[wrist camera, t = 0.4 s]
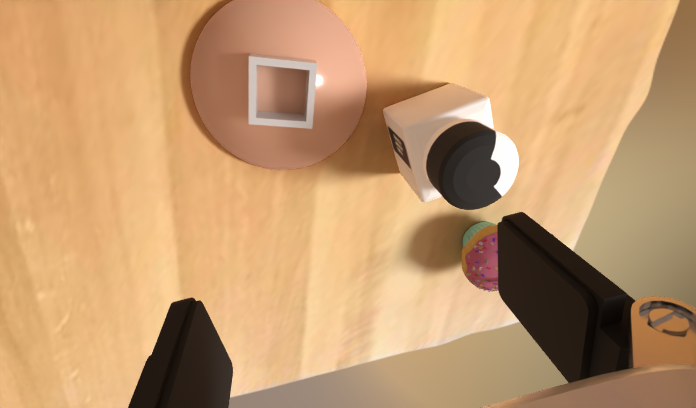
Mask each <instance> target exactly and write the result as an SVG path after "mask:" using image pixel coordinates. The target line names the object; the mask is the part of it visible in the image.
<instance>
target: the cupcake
mask: <svg viewBox="0 0 696 408" xmlns="http://www.w3.org/2000/svg"><path fill="white" fill-rule="evenodd" d="M497 226H498V225H495V224H493V223H490V222H480V223H477V224H475V225H473V226H471V227H470V228H469V229H468V230H467V231H466V233H465V234H464V237H463V241H462V244H463V249H462V269H463V272H464V274H465V276H466V277H467V279H468V280H469V281H470V282H471V283H472V284H473V285H475V286H476V287H477V288H478V287H479V289H485V290H488V291H489V292H490V291H491V290H492V291H497V290H498V237H497Z"/></svg>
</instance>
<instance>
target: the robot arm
mask: <svg viewBox="0 0 696 408" xmlns="http://www.w3.org/2000/svg"><path fill="white" fill-rule="evenodd" d="M497 237H498V290H499V294H500V296H501V298H502V300H503V301H504V302H505V304H506V305H507V306H508V307H509V309H510V310H511V311H512V312H513V314H514V315H515V316H516V317H517V319H518V320H519V321H520V322H521V324H522V325H523V326H524V327H525V329H526V330H527V331H528V332H529V334H530V335H531V336H532V337H533V339H534V340H535V341H536V342H537V344H538V345H539V346H540V347H541V349H542V350H543V351H544V352H545V353H546V355H547V356H548V357H549V359H550V360H551V361H552V362H553V364H554V365H555V366H556V367H557V369H558V370H559V371H560V372H561V374H562V375H563V376H564V377H565V379H566V380H567V381H568V382H569V383H568V384H564V385H560V386H556V387H553V388H549V389H545V390H542V391H538V392H535V393H531V394H528V395H525V396H521V397H517V398H514V399H510V400H506V401H503V402H500V403H496V404H492V405H489V406H485V407H482V408H696V309H695V308H693V307H692V306H690V305H688V304H686V303H683V302H681V301H678V300H675V299H671V298H666V297H657V296H651V297H644V298H641V299H638V300H637V301H635V300H634V299H633V298H631V297H630V296H629V295H627V293H626V292H624V291H623V290H622V289H620V288H619V287H618V286H617V285H615V284H614V283H613V282H612V281H610V280H609V279H608V278H606V277H605V276H604V275H603V274H601V273H600V272H599V271H598V270H596V269H595V268H594V267H592V266H591V265H590V264H589V263H587V262H586V261H585V260H583V259H582V258H581V257H580V256H578V255H577V254H576V253H575V252H573V251H572V250H571V249H570V248H568V247H567V246H566V245H564V244H563V243H562V242H561V241H559V240H558V239H557V238H555V237H554V236H553V235H552V234H550V233H549V232H548V231H547V230H545V229H544V228H543V227H541V226H540V225H539V224H538V223H536V222H535V221H534V220H533V219H531V218H530V217H529V216H527V215H526V214H525V213H523V212H519V213H515V214H511V215H508V216H504V217H503V218H502V222H499V223H498V226H497ZM232 376H233V367H232V362H231V360H230V358H229V356H228V354H227V352H226V350H225V348H224V346H223V344H222V341H221V339H220V337H219V335H218V333H217V331H216V329H215V327H214V325H213V323H212V321H211V319H210V317H209V315H208V313H207V311H206V309H205V307H204V305H203V303H202V302H201V301H196V300H195V299H194V298H188V299H184V300H180V301H176V302H173V303H172V304H171V306H170V308H169V311H168V313H167V316H166V318H165V321H164V324H163V326H162V329H161V332H160V334H159V337H158V339H157V342H156V345H155V347H154V350H153V352H152V355H150V356H149V357H148V359H147V361H146V363H145V366H144V368H143V371H142V373H141V376H140V379H139V381H138V384H137V386H136V389H135V391H134V394H133V396H132V399H131V402H130V404H129V407H128V408H228V406H229V399H230V391H231V383H232Z"/></svg>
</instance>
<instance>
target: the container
mask: <svg viewBox="0 0 696 408" xmlns="http://www.w3.org/2000/svg"><path fill="white" fill-rule="evenodd" d="M383 114H384V118H385V121H386V125H387V129H388V132H389V136H390V139H391V143H392V147H393V150H394V154H395V157H396V161H397V165H398V168H399V172H400V174H401V175H402V176H403V178H404V179H405V180H406V182H407V183H408V184H409V186H410V187H411V188H412V189H413V191H414V192H415V193H416V195H417V196H418V197H419V199H420V200H421V201H422V202H424V203H425V202H428V201H431V200H434V199H437V198H439V197H442V196H443V197H444V199H445V200H446V201H447V202H448V203H450V204H451V205H453V206H455V207H457V208H460V209H465V210H474V209H479V208H483V207H486V206H488V205H490V204H492V203H494V202H495V201H497V200H498V199H500V198H501V197H502V196H503V195H504V194H505V193H506V192H507V191H508V190H509V188H510V187H511V185H512V184H513V182H514V180H515V177H516V174H517V171H518V165H519V157H518V152H517V149H516V147H515V145H514V143H513V142H512V141H511V140H510V139H509V138H508V137H507V136H506V135H504V134H502V133H500V132H498V131H496V130H494V128H493V120H492V113H491V105H490V99H489V98H488V97H487V96H485V95H482V94H480V93H477V92H474V91H472V90H469V89H467V88H464V87H462V86H459V85H456V84H454V83H450V84H447V85H445V86H442V87H439V88H437V89H434V90H431V91H428V92H426V93H423V94H420V95H418V96H415V97H412V98H409V99H407V100H404V101H401V102H398V103H396V104H393V105H390V106H388V107H385V108H384V109H383Z"/></svg>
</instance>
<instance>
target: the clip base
mask: <svg viewBox="0 0 696 408" xmlns="http://www.w3.org/2000/svg"><path fill="white" fill-rule="evenodd" d="M190 82H191V90H192V95H193V99H194V103H195V106H196V108H197V111H198V113H199V116H200V118H201V119H202V121H203V123H204V125H205V126H206V128H207V129H208V131H209V132H210V133H211V135H212V136H213V137H214V138H215V139H216V140H217V141H218V142H219V144H221V145H222V146H223V147H224V148H225V149H226V150H228V151H229V152H230V153H232V154H233V155H235V156H236V157H238V158H240V159H242V160H244V161H246V162H248V163H250V164H253V165H256V166H259V167H263V168H268V169H276V170H291V169H299V168H303V167H307V166H310V165H313V164H315V163H318V162H320V161H322V160H324V159H325V158H327V157H329V156H330V155H332V154H333V153H334V152H336V151H337V150H338V149H339V148H340V147H341V146H342V145H343V144H344V143H345V142H346V141H347V140H348V138H349V137H350V136H351V134H352V133H353V131H354V130H355V128H356V126H357V124H358V122H359V120H360V118H361V115H362V112H363V109H364V105H365V99H366V90H367V79H366V70H365V64H364V60H363V57H362V54H361V51H360V49H359V46H358V44H357V42H356V40H355V38H354V37H353V35H352V33H351V32H350V30H349V29H348V28H347V26H346V25H345V24H344V23H343V21H342V20H341V19H340V18H339V17H338V16H337V15H336V14H335V13H334V12H332V11H331V10H330V9H328V8H327V7H326V6H324V5H323V4H321V3H320V2H318V1H316V0H233V1H231V2H229V3H228V4H226V5H225V6H223V7H222V8H221V9H220V10H219V11H217V12H216V13H215V14H214V15H213V17H212V18H211V19H210V20H209V21H208V22H207V24H206V25H205V27H204V28H203V30H202V32H201V33H200V35H199V38H198V40H197V42H196V44H195V48H194V51H193V55H192V60H191V67H190Z"/></svg>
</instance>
